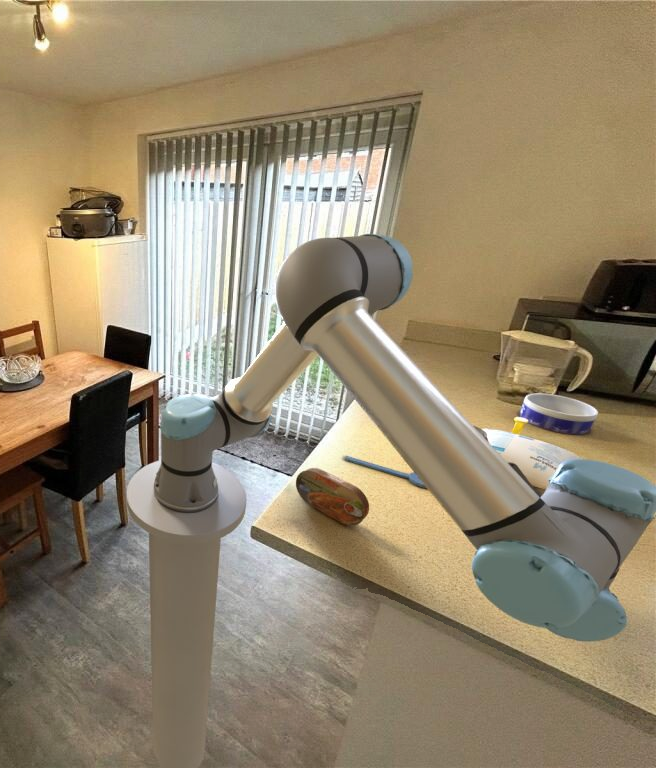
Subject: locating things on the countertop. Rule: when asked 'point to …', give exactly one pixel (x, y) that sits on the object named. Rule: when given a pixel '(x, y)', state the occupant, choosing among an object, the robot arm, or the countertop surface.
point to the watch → (519, 425)
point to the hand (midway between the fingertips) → (448, 441)
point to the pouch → (529, 455)
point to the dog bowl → (558, 413)
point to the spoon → (389, 471)
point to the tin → (332, 496)
